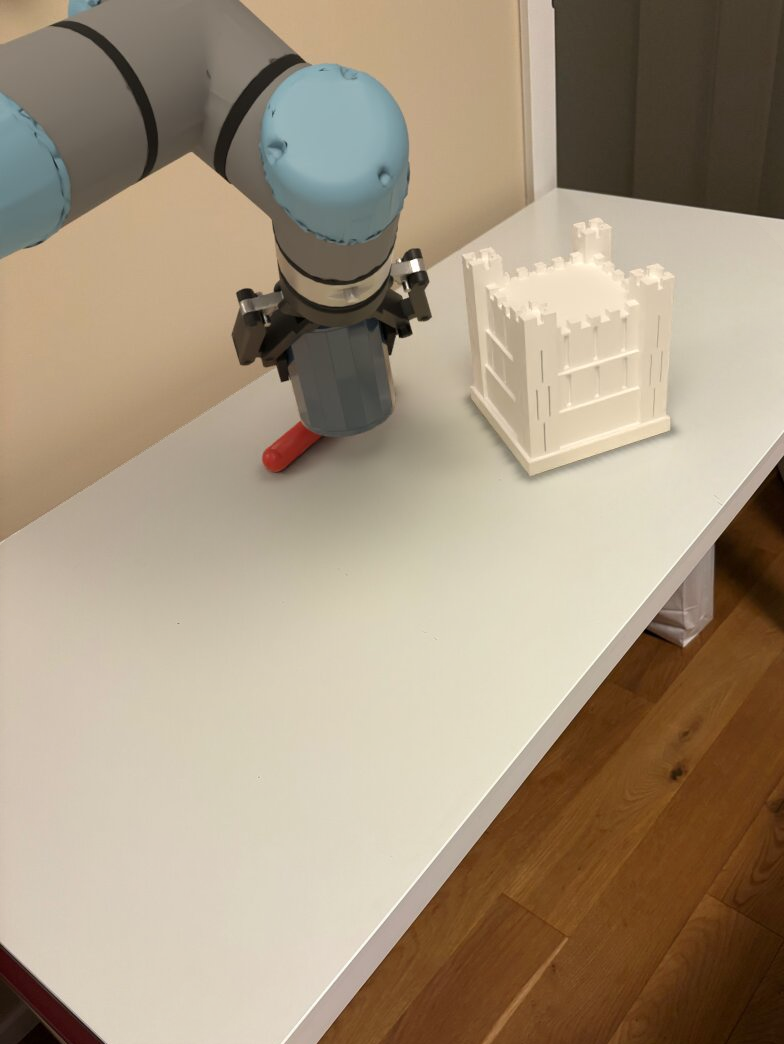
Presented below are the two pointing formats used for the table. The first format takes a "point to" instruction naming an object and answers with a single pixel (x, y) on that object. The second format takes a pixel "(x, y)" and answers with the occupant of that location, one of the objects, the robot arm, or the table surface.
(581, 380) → the castle model
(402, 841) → the table surface
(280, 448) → the spoon
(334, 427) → the mug
